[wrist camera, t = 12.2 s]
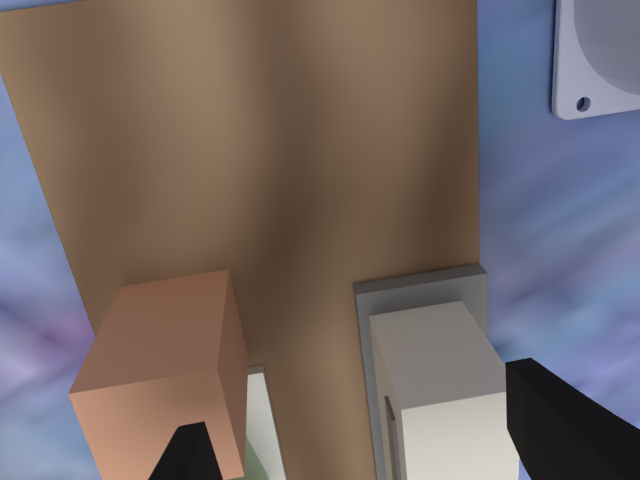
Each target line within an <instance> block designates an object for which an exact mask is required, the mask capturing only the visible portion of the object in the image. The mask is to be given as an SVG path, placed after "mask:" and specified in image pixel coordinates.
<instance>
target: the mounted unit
mask: <svg viewBox="0 0 640 480" xmlns="http://www.w3.org/2000/svg"><path fill="white" fill-rule="evenodd" d="M353 292H354V300H355V309H356V317H357V326H358V334H359V342H360V351H361V359H362V367H363V376H364V384H365V393H366V401H367V409H368V418H369V426H370V435H371V443H372V451H373V460H374V468H375V476H376V480H518V476H519V455H518V453H517V450H516V448H515V446H514V444H513V441H512V439H511V437H510V434H509V432H508V430H507V414H506V366H505V364H504V363H503V361H502V360H501V358H500V357H499V355H498V354H497V352H496V351H495V349H494V348H493V346H492V345H491V343H490V342H489V340H488V339H487V272H486V271H485V270H484V269H483V268H482V266H481V265H480V264H476V265H470V266H464V267H458V268H451V269H445V270H439V271H433V272H427V273H421V274H415V275H409V276H403V277H396V278H390V279H384V280H378V281H372V282H366V283H360V284H354V285H353Z"/></svg>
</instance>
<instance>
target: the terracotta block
mask: <svg viewBox="0 0 640 480" xmlns="http://www.w3.org/2000/svg"><path fill="white" fill-rule="evenodd" d="M247 386H248V353H247V348H246V344H245V339H244V335H243V330H242V326H241V321H240V317H239V312H238V308H237V304H236V299H235V295H234V290H233V286H232V281H231V277H230V272H229V269H226V270H220V271H214V272H207V273H201V274H195V275H189V276H183V277H176V278H170V279H164V280H158V281H151V282H145V283H139V284H133V285H127V286H121V287H120V289H119V291H118V293H117V295H116V297H115V299H114V301H113V303H112V305H111V307H110V309H109V311H108V313H107V315H106V317H105V320H104V322H103V324H102V326H101V328H100V330H99V332H98V334H97V336H96V338H95V340H94V342H93V344H92V346H91V348H90V350H89V352H88V354H87V356H86V358H85V361H84V363H83V365H82V367H81V369H80V371H79V373H78V375H77V377H76V379H75V381H74V383H73V385H72V387H71V389H70V391H69V393H68V395H69V397H70V400H71V402H72V405H73V407H74V410H75V412H76V415H77V417H78V420H79V422H80V425H81V427H82V429H83V432H84V434H85V437H86V439H87V442H88V444H89V447H90V449H91V452H92V454H93V457H94V459H95V462H96V464H97V466H98V469H99V471H100V474H101V476H102V479H103V480H148V479H149V477H150V475H151V473H152V472H153V470H154V468H155V466H156V465H157V463H158V461H159V459H160V458H161V456H162V454H163V452H164V450H165V449H166V447H167V445H168V443H169V441H170V439H171V438H172V436H173V434H174V432H175V430H176V429H177V428H178V427H179V426H182V425H187V424H192V423H198V422H203V421H205V424H206V427H207V431H208V434H209V437H210V440H211V443H212V446H213V449H214V452H215V455H216V459H217V462H218V465H219V468H220V471H221V474H222V477H223V480H226V479H232V478H238V477H243V476H245V446H246V416H247Z"/></svg>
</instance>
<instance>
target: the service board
mask: <svg viewBox="0 0 640 480" xmlns="http://www.w3.org/2000/svg"><path fill="white" fill-rule="evenodd" d="M0 73H1V76H2V79H3V81H4V84H5V87H6V90H7V92H8V95H9V98H10V101H11V104H12V106H13V109H14V112H15V115H16V117H17V120H18V123H19V126H20V129H21V131H22V134H23V137H24V140H25V143H26V145H27V148H28V151H29V154H30V156H31V159H32V162H33V165H34V168H35V170H36V173H37V176H38V179H39V181H40V184H41V187H42V190H43V193H44V195H45V198H46V201H47V204H48V206H49V209H50V212H51V215H52V218H53V220H54V223H55V226H56V229H57V232H58V234H59V237H60V240H61V243H62V245H63V248H64V251H65V254H66V257H67V259H68V262H69V265H70V268H71V270H72V273H73V276H74V279H75V282H76V284H77V287H78V290H79V293H80V295H81V298H82V301H83V304H84V307H85V309H86V312H87V315H88V318H89V320H90V323H91V326H92V329H93V332H94V334H95V337H96V336H97V334H98V332H99V330H100V328H101V326H102V324H103V322H104V320H105V317H106V315H107V313H108V311H109V309H110V307H111V305H112V303H113V301H114V299H115V297H116V295H117V293H118V291H119V289H120V287H121V286H127V285H133V284H139V283H145V282H151V281H158V280H164V279H170V278H176V277H183V276H189V275H195V274H201V273H207V272H214V271H220V270H226V269H229V272H230V277H231V281H232V286H233V290H234V295H235V299H236V304H237V308H238V312H239V317H240V321H241V326H242V330H243V335H244V339H245V344H246V348H247V353H248V367H254V366H260V365H263V367H264V372H265V377H266V382H267V386H268V391H269V396H270V400H271V405H272V410H273V415H274V419H275V424H276V429H277V433H278V438H279V443H280V448H281V452H282V457H283V462H284V466H285V471H286V476H287V480H376V476H375V468H374V460H373V451H372V443H371V435H370V426H369V418H368V409H367V401H366V393H365V384H364V376H363V367H362V359H361V351H360V342H359V334H358V326H357V317H356V309H355V300H354V292H353V285H354V284H360V283H366V282H372V281H378V280H384V279H390V278H396V277H403V276H409V275H415V274H421V273H427V272H433V271H439V270H445V269H451V268H458V267H464V266H470V265H476V264H479V162H478V48H477V0H82V1H75V2H68V3H61V4H54V5H47V6H40V7H33V8H25V9H18V10H11V11H4V12H0Z"/></svg>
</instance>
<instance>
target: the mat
mask: <svg viewBox="0 0 640 480" xmlns="http://www.w3.org/2000/svg"><path fill="white" fill-rule="evenodd" d="M246 436H247V438H248V440H249V442H250V443H251V445H252V447H253V449H254V451H255V453H256V455H257V457H258V458H259V460H260V462H261V464H262V466H263V468H264V470H265V472H266V473H267V475H268V477H269V480H287V476H286V471H285V466H284V462H283V457H282V452H281V448H280V443H279V438H278V433H277V429H276V424H275V419H274V415H273V410H272V405H271V400H270V396H269V391H268V386H267V382H266V377H265V372H264V367H263V365H260V366H254V367H248V386H247V416H246Z"/></svg>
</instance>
